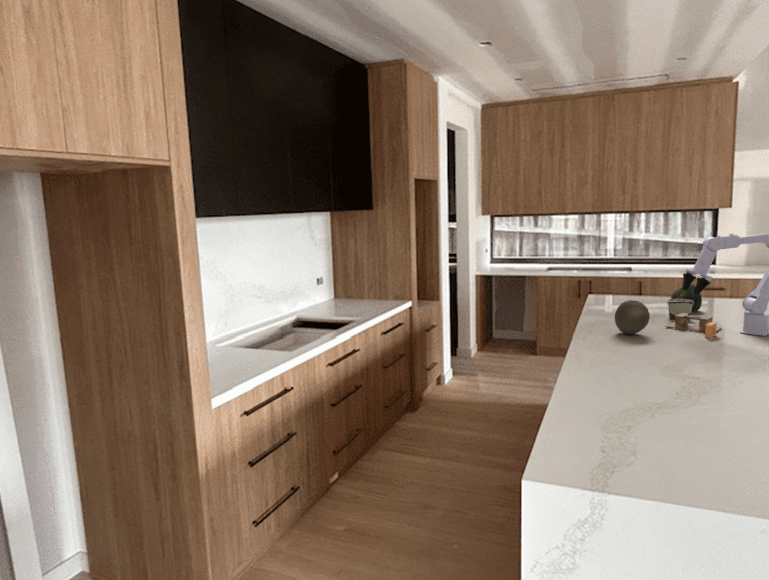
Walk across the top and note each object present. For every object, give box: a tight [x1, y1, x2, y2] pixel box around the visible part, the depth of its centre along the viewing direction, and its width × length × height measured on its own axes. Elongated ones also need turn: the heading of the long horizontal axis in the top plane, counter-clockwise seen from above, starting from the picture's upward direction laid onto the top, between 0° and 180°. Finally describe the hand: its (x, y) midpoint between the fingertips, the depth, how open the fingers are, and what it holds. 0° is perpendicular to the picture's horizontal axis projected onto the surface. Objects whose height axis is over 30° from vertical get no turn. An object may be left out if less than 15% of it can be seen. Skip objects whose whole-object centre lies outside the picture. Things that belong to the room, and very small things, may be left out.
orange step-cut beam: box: [704, 321, 717, 339], centre depth 239 cm, size 2×7×6 cm, turn 136°
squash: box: [670, 284, 703, 312], centre depth 297 cm, size 14×15×15 cm
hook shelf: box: [664, 313, 723, 334], centre depth 255 cm, size 20×13×6 cm, turn 46°
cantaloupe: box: [614, 299, 651, 335], centre depth 245 cm, size 14×14×15 cm
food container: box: [666, 298, 694, 321], centre depth 276 cm, size 12×6×10 cm, turn 84°
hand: (690, 292), depth 247 cm, fingers open, 7 cm apart
